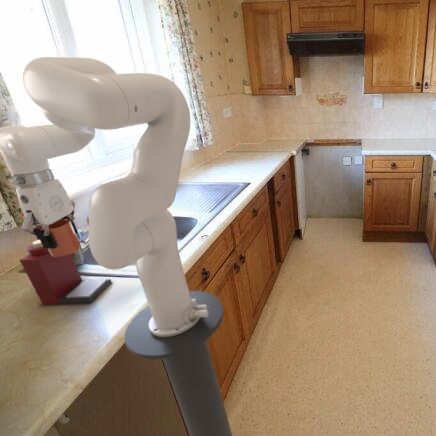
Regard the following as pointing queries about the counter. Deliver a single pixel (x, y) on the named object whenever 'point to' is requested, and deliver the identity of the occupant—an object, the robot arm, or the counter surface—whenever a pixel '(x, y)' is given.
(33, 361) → the counter surface
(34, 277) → the column
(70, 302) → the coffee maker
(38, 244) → the brew button
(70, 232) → the cup
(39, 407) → the counter surface
